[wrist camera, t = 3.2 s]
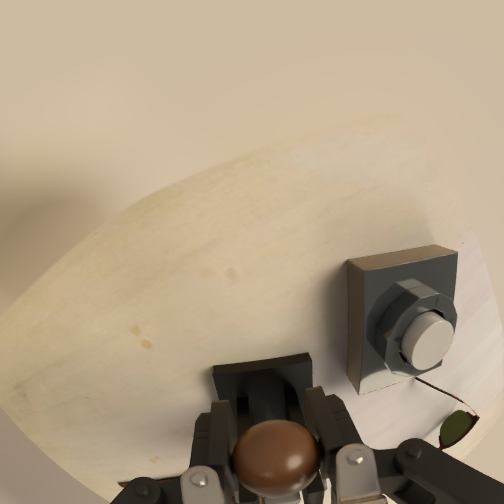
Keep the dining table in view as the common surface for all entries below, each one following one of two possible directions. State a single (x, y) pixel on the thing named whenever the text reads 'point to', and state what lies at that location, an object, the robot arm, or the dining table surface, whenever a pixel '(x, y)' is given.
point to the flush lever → (276, 460)
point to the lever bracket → (268, 403)
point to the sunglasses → (454, 424)
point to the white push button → (427, 340)
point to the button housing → (394, 310)
